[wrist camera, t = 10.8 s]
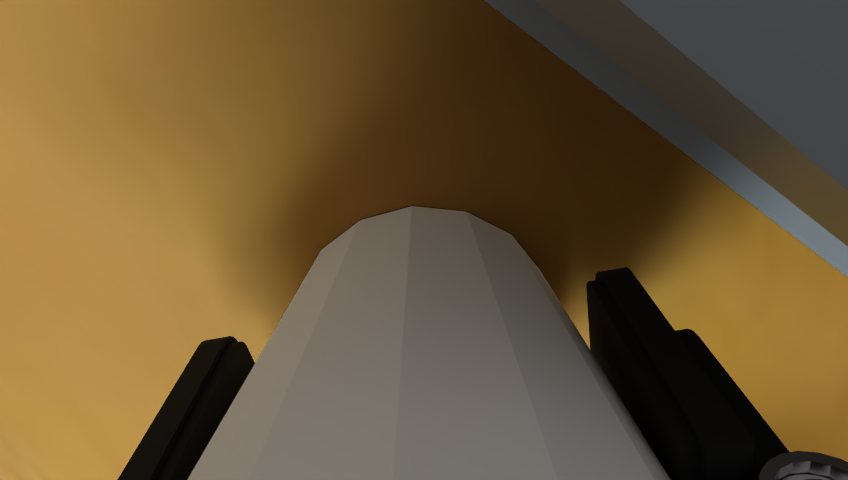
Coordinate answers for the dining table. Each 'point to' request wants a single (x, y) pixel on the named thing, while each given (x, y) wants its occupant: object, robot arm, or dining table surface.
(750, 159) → the cart
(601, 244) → the dining table surface
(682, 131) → the track
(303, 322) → the white tapered cup
